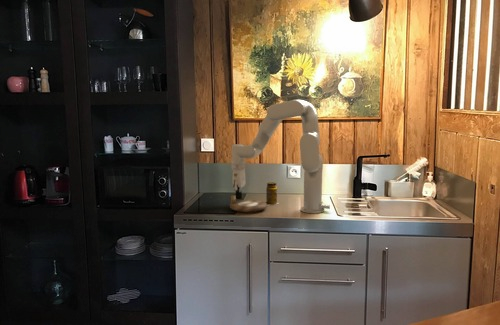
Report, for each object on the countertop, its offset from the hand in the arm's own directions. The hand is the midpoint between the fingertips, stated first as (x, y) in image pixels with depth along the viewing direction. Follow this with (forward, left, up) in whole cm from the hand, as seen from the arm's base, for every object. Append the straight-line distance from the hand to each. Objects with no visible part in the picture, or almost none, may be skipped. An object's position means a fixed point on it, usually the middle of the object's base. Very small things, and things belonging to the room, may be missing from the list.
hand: (238, 198), depth 236 cm
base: (-8, +6, -4) cm, 11 cm away
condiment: (-16, -11, -4) cm, 19 cm away
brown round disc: (-8, +6, -3) cm, 10 cm away
